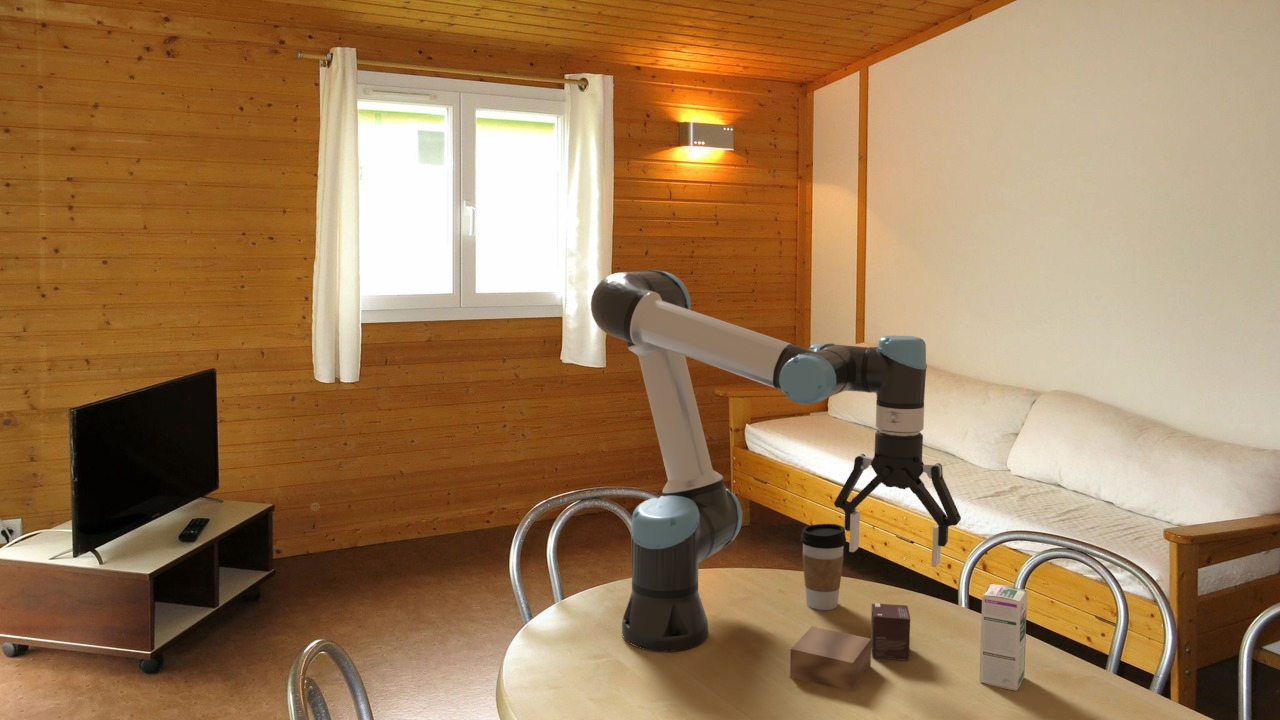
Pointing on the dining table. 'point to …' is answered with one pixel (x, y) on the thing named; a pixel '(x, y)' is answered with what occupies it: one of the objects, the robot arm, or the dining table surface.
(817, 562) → the coffee cup
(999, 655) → the syrup box
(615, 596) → the dining table surface
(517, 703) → the dining table surface
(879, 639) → the box
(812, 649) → the walnut block
